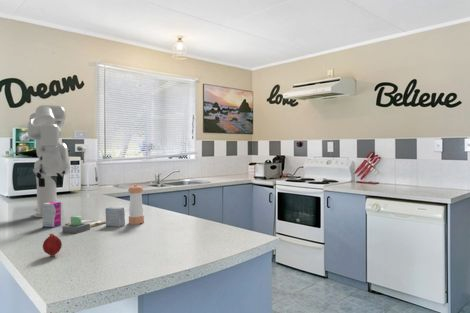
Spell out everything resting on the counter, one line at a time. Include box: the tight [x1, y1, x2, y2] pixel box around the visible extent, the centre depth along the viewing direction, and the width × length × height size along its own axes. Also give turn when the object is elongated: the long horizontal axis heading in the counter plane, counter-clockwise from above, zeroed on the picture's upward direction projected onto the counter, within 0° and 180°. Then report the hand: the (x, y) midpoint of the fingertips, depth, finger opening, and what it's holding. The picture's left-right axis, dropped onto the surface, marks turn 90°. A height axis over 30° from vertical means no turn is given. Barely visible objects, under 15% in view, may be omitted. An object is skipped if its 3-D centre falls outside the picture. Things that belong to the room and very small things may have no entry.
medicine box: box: [104, 206, 126, 228], centre depth 164 cm, size 8×4×9 cm, turn 71°
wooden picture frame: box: [64, 219, 106, 229], centre depth 168 cm, size 16×11×1 cm
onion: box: [42, 233, 63, 257], centre depth 119 cm, size 6×6×8 cm
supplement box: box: [42, 201, 62, 229], centre depth 163 cm, size 6×6×12 cm
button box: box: [61, 223, 91, 234], centre depth 155 cm, size 8×8×2 cm
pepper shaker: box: [127, 183, 145, 225], centre depth 169 cm, size 7×7×19 cm
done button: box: [70, 215, 82, 227], centre depth 155 cm, size 4×4×5 cm
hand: (51, 185), depth 163 cm, fingers open, 9 cm apart
